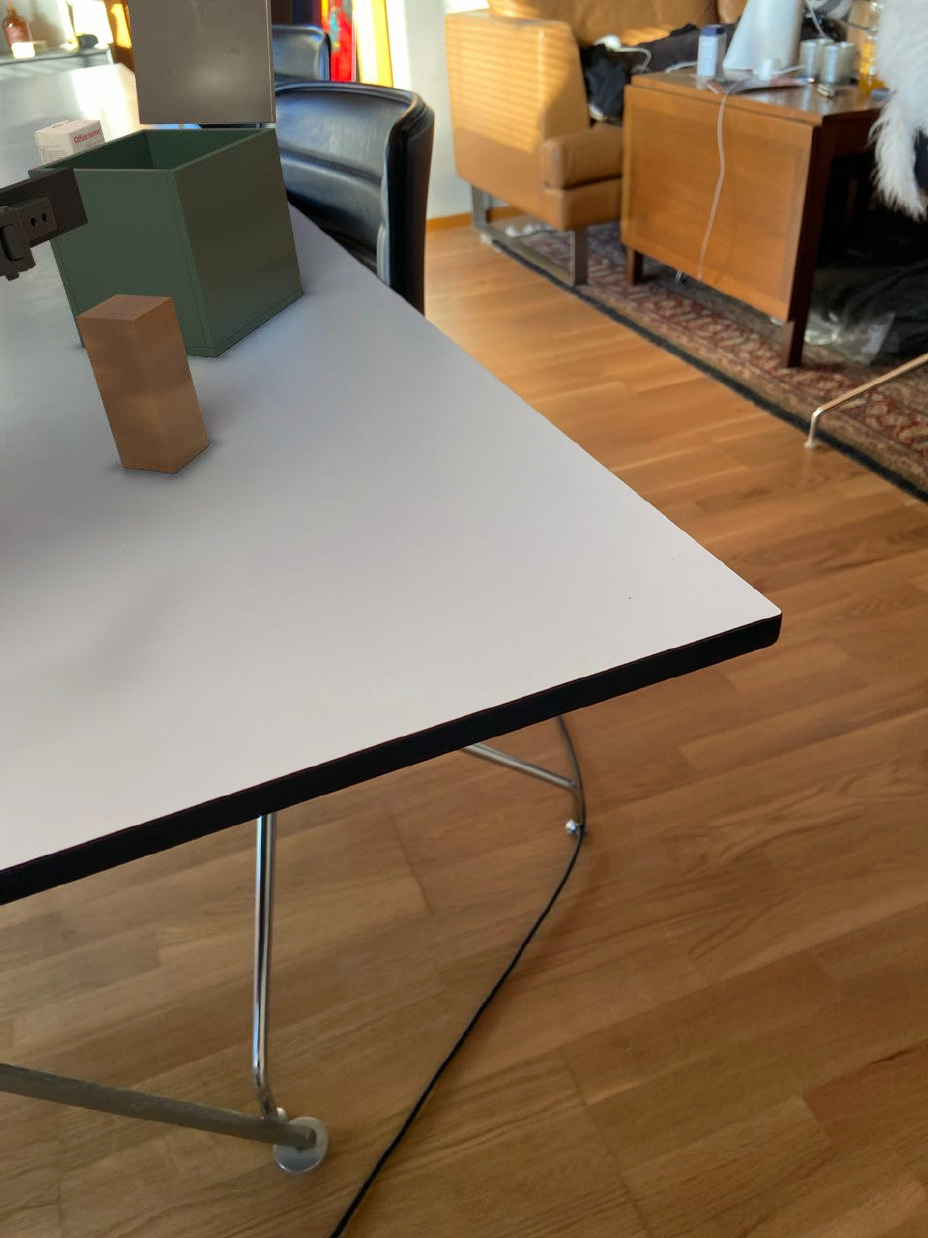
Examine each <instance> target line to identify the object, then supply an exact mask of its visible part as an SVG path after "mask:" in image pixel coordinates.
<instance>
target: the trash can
mask: <svg viewBox="0 0 928 1238" xmlns="http://www.w3.org/2000/svg"><path fill="white" fill-rule="evenodd" d="M59 167H73V171H74V174H75V177H76V181H77V184H78V188H79V191H80V195H81V198H82V202H83V205H84V209H85V212H86V216H87V219H88V223H87V224H85V225H82V226H80V227H78V228H76V229H73V230H71V231H69V232H67V233H64V234H62V235H60V236H57V237H55V238H53V239H51V240H48V242H49V244H50V248H51V251H52V254H53V257H54V261H55V263H56V266H57V270H58V273H59V276H60V279H61V282H62V286H63V289H64V292H65V295H66V299H67V302H68V305H69V308H70V311H71V315H72V318H73V321H74V324H75V328H76V330H77V333H78V334H77V335H78V337H79V340H80V344H81V347H83V348H84V347H85V344H84V341H83V338H82V335H81V332H80V328H79V325H78V322H77V319H76V317H77V316H79V315H81V314H82V313H84V312H86V311H88V310H90V309H91V308H93V307H95V306H97V305H99V304H100V303H102V302H104V301H106V300H108V299H109V298H111V297H113V296H115V295H117V294H123V295H141V296H159V297H172V299H173V303H174V307H175V311H176V315H177V319H178V323H179V327H180V331H181V335H182V339H183V343H184V347H185V351H186V355H187V356H198V357H210V358H211V357H212V358H217V357H218V356H220V355H221V354H223V353H224V352H225V351H227V350H228V349H230V348H231V347H233V346H234V345H235V344H236V343H238V342H239V341H241V340H242V339H244V338H245V337H246V336H248V335H249V334H250V333H252V332H253V331H254V330H256V329H258V328H259V327H260V326H261V325H263V324H264V323H266V322H267V321H269V320H270V319H271V318H273V317H274V316H275V315H277V314H279V313H280V312H281V311H283V310H284V309H285V308H287V307H288V306H289V305H291V304H292V303H294V302H295V301H296V300H297V299H299V298H301V297H302V296H304V290H303V284H302V277H301V271H300V266H299V260H298V254H297V248H296V242H295V237H294V231H293V230H294V229H293V225H292V224H293V223H292V219H291V213H290V207H289V202H288V196H287V195H288V194H287V188H286V183H285V177H284V172H283V166H282V159H281V154H280V148H279V143H278V136H277V130H276V128H275V127H240V128H239V127H237V128H236V127H233V128H231V127H230V128H228V127H227V128H226V127H224V128H223V127H222V128H220V127H219V128H216V127H215V128H184V129H179V128H143V129H139V130H137V131H134V132H130V133H128V134H126V135H122V136H119V137H117V138H114V139H112V140H109V141H105V143H103V144H100V145H97V146H95V147H92V148H89V149H86V150H84V151H81V152H78V153H75V154H72V155H70V156H67V157H64V158H61V159H58V160H56V161H53V162H50V163H47V164H44V165H43V164H42V165H39V166H37V167H33V168H30V169H28V170H27V174H28V178H31V177H34V176H37V175H39V174H42V173H45V172H48V171H51V170H53V169H56V168H59Z"/></svg>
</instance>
